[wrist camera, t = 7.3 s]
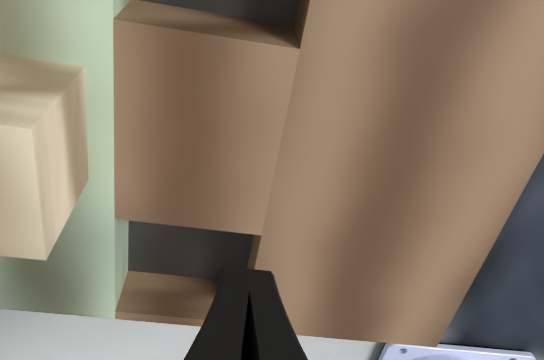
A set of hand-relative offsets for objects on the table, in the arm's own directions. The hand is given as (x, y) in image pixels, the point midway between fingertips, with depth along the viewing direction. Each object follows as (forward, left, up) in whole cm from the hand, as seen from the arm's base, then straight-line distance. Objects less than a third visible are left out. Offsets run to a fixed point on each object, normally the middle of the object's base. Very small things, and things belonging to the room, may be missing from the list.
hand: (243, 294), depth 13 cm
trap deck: (0, -1, -9) cm, 9 cm away
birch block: (+8, -1, -6) cm, 10 cm away
